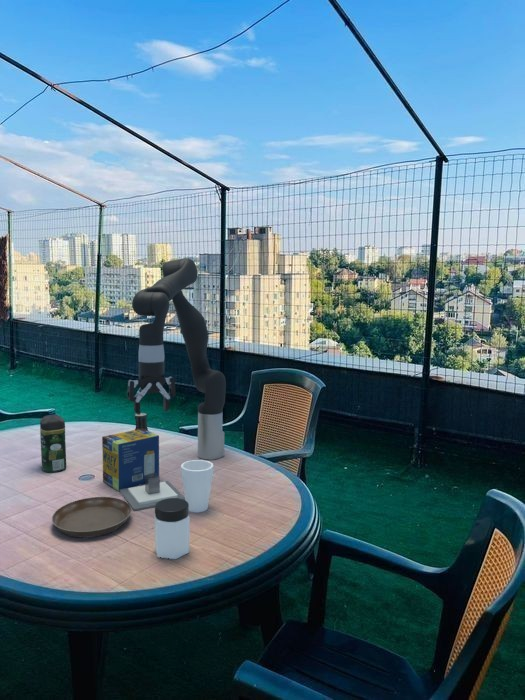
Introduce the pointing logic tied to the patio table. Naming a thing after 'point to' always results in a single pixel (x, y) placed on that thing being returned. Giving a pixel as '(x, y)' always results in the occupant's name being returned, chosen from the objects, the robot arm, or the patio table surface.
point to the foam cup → (197, 483)
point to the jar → (172, 528)
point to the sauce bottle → (141, 421)
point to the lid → (152, 490)
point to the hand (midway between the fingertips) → (152, 412)
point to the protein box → (129, 458)
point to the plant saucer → (91, 516)
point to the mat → (136, 507)
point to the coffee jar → (53, 443)
